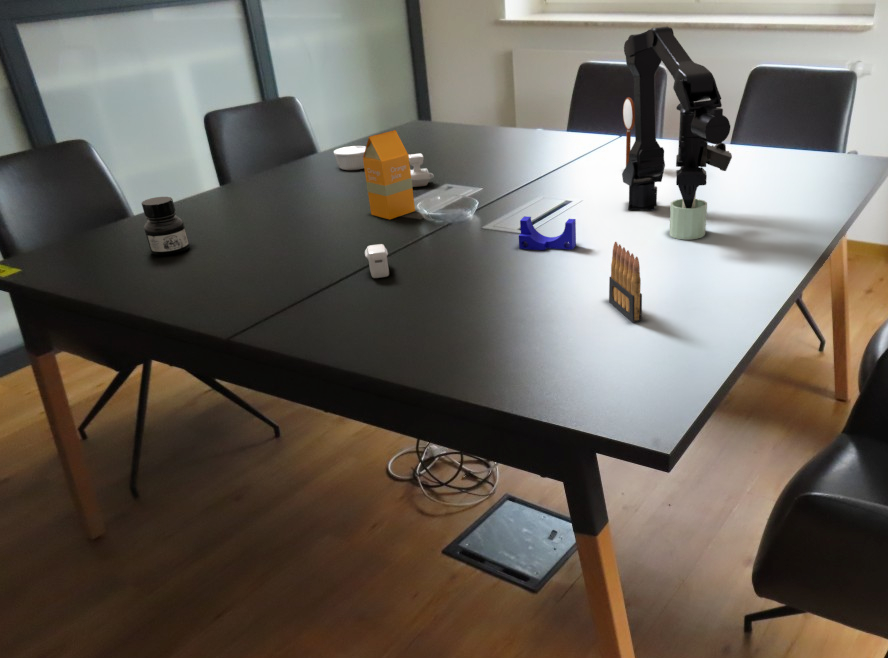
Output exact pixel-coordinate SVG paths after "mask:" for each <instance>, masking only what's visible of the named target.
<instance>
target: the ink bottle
mask: <svg viewBox="0 0 888 658" xmlns="http://www.w3.org/2000/svg"><path fill="white" fill-rule="evenodd" d="M141 206H142V211H143V213H144V214H143V215H144V216H145V219H146V222H145V223H144V226H143V229H144V233H145V236H146V240H147V244H148V246H149V250H150V252H151V254H152V255H155V256H161V257H164V256H172V255H176V254H181V253H183V252H185V251H187V250H188V249H189V248H190V242H189V238H188V234H187V231H186V227H185V223H184V221H183V220H182V218H180V217H178V216H177V215H176V214H177V212H176V207H175V204H174V200H173V198H172V197H171V196H156V197H151V198H147V199H145V200H143V201H141Z"/></svg>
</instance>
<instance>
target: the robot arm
mask: <svg viewBox="0 0 888 658" xmlns="http://www.w3.org/2000/svg"><path fill="white" fill-rule="evenodd" d="M674 34H675V33H674V29H673V28H672V27H671V26H670V27H669V26H658V27H652V28H651V29H648V30H646V31H644V32H640V33H635V34H630V35H629V36H628V38H627V40H625V42H624V44H623V53H624V55H625V63H626V66H627V67H628V69H629V71H630V73H631V74H632V76H633V94H634V95H633V97H634V99H633V100H634V101H633V103H634V107H635V124H634V136H635V137H634V138H635V141H634V142H633V145H632V147H630V152H629V162H628V164H627V166H626V165H625V167H624V169H623V171H622V173H621V176H622V182H623V183H624V184H625V185H627V186H628V205H627V210H628V211H654V210H655V207H656V206H657V203H658V202H657V200H658V186H656V183H661V182H662V181H663V177H664V172H665V167H666V162H665V148H664V146H663V147H662V146H660V144H659V143H658V141H657V132H656V131H657V125H656V124H657V123H656V121H657V120H656V73H657V71H658V69H659V67H660V65H661V64H663V65H664V66H665V68H666V69H667V71H668V72H669V73H670V75H671V77H672V78H673V80H674V81H673V86H672V89H673V91H674V93H675V96H676V97H677V99H678V101H679V103H678V105H677V106H676V110H677V111H679V112H680V113H679V127H678V128H679V129H678V130H679V131H678V132H679V133H678V149H677V150H678V152H677V154H676V157H675V158H676V159H675V167H677V168H679V169H677V170H676V175H675V178H676V180H675V184H676V186H677V187H678V189H679V193H680V195H681V199H683V201H684V204H685V207H686V208H692V204H693V201H694V197H695V193H696V194H697V189H698V187H700V186H706V185H707V179H708V178H707V171H706V170H705V169H704V168H706V167H707V165H709V166H711V167H713V168H717V169H719V170H720V171H722V172H727V170H728V167H729V166H730V164H731V161H732V159H733V154H732V153H731V152H730V151H729V150H727V146H726V143H724V141H725V140H726V139H727V138H728V137H729V135H730V132H731V123H730V120H729V118H728V117H727V116H726V115H724V109H723V108H722V106H723V105H722V101H721V100H722V96H721V94H720V91H719V89H718V85H717V82H716V79H715V77H714V75H713V73H712V72H711V71H710V70H709V69H708V68H707V67H706V66H704V65H702V64H699V63H697V62H694V60H692V58H691V57H690V56H689V54H688V53H687V51H686V50H685V49H684V48H683V46H682V44H681V43H680V42H679V40H678V39H677V38H676V36H675V35H674ZM708 143H709V144H708ZM711 144H712V145H711Z"/></svg>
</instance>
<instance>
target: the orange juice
mask: <svg viewBox="0 0 888 658" xmlns="http://www.w3.org/2000/svg"><path fill="white" fill-rule="evenodd" d="M365 147H366V149H365V152H364V156H363V163H364V168H363V169H364V176H365V182H366V183H365V184H366V191H367V196H368V203H369V209H370V215H371V216H375V217H378V218H382V219H386V220H393V219H396V218H398V217H401V216H404V215H408V214H410V213H413V212H416V206H415V198H414V189H413V188H414V187H413V186H412V178H411V172H410V170H411V164H410V161H409V155H410V154H409V153H408V151H407V149H406V148H405V146H404V144H403V142H402V140H401V138H400V136H399V134H398V132H397V130H396V129H393V130H390V131H385V132H381V133H378V134H374V135H370V136H368V138H367V142H366V146H365Z"/></svg>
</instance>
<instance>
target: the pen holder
mask: <svg viewBox="0 0 888 658" xmlns="http://www.w3.org/2000/svg"><path fill="white" fill-rule="evenodd" d="M682 202H683V198H679V199H675V200H673V201H671V202H670V207H669V208H670V210H669V231H668V232H669V236H670V237H671V238H674V239H677V240H685V241H687V240H690V241H691V240H697V239H702V238H704V237H705V235H706V229H707V214H708V202H707V201H706V200H703V199H700V198H695V208H682Z"/></svg>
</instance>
